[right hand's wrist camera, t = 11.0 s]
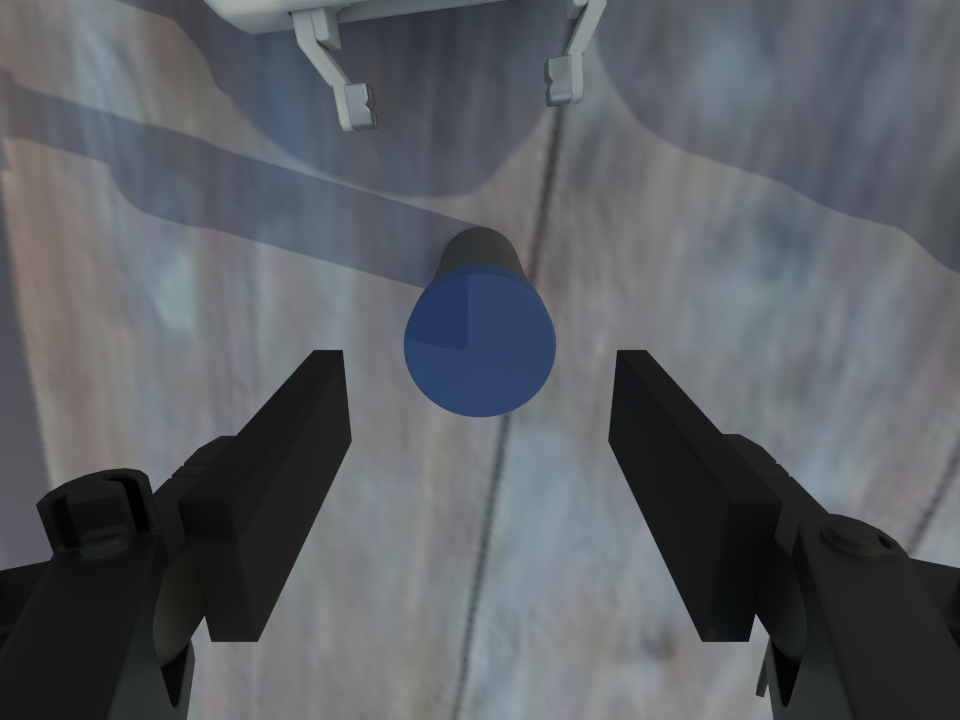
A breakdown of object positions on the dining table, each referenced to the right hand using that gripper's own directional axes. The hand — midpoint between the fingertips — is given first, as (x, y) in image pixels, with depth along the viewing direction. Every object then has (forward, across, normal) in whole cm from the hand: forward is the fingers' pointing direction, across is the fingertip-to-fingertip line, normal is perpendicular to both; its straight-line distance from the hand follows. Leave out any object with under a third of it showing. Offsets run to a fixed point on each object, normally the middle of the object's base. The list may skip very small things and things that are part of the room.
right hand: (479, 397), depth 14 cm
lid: (+4, 0, 0) cm, 4 cm away
